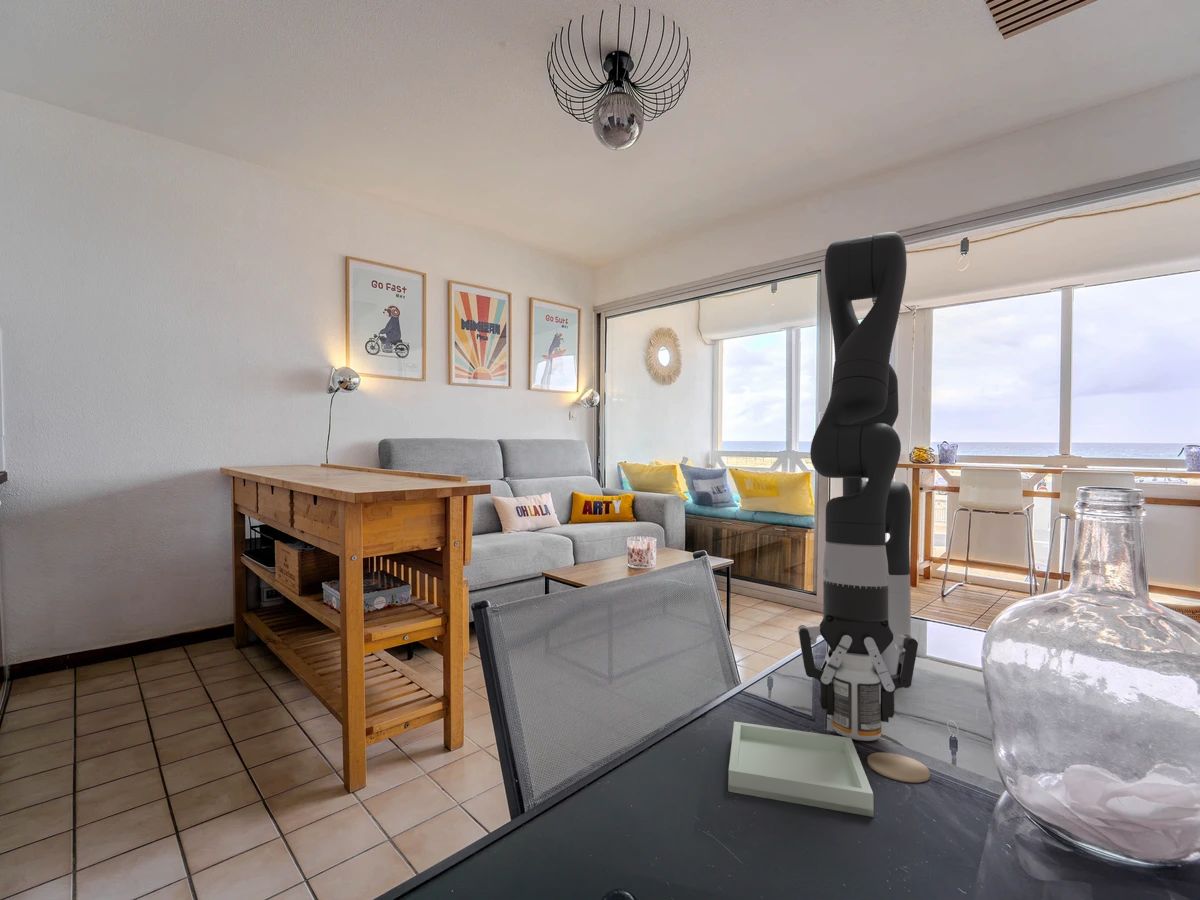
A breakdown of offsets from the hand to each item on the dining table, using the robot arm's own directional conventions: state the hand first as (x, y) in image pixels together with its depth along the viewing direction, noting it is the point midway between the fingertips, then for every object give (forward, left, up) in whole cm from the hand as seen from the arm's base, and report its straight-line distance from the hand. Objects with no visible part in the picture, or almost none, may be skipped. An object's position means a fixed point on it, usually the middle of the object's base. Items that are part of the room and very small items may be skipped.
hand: (855, 715), depth 70 cm
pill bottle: (0, 0, -2) cm, 2 cm away
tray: (+13, -8, -2) cm, 16 cm away
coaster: (+8, +3, -2) cm, 9 cm away
